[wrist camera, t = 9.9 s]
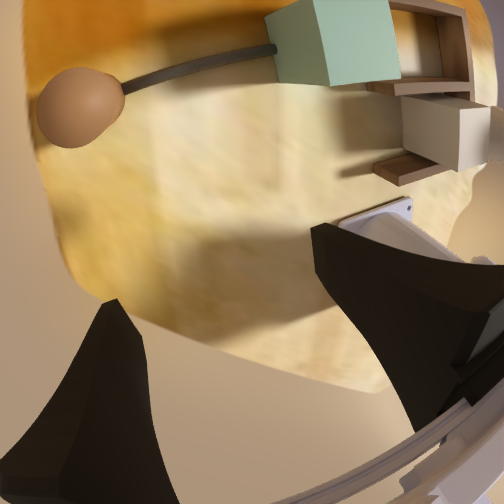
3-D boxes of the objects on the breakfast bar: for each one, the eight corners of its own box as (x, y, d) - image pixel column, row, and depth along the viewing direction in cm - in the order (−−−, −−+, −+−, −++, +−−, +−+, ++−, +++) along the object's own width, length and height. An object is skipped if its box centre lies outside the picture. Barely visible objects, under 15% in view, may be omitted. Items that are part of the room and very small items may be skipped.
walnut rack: (449, 151, 24) (473, 162, 21) (373, 173, 22) (398, 186, 20) (438, 9, 16) (465, 9, 13) (350, -4, 14) (377, -11, 12)
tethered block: (339, 73, 17) (401, 78, 12) (82, 147, 15) (54, 176, 10) (327, 12, 15) (387, -1, 10) (59, 80, 13) (19, 80, 8)
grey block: (436, 140, 22) (487, 162, 18) (402, 148, 22) (457, 172, 17) (434, 92, 20) (490, 107, 15) (399, 95, 19) (459, 109, 14)
